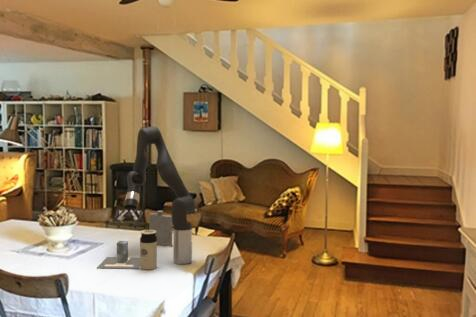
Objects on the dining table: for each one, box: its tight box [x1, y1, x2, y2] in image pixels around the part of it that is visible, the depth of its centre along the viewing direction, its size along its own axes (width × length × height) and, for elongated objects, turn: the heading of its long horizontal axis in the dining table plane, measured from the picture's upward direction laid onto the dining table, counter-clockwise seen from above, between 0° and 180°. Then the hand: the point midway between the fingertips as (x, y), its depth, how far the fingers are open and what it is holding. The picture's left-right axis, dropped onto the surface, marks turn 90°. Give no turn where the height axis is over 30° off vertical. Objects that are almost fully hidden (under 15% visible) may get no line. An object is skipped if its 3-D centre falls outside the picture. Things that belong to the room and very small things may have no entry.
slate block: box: [116, 240, 129, 263], centre depth 217 cm, size 4×4×10 cm
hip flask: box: [148, 210, 173, 247], centre depth 250 cm, size 16×4×20 cm, turn 61°
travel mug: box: [139, 229, 158, 271], centre depth 209 cm, size 8×8×18 cm
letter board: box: [96, 256, 140, 270], centre depth 216 cm, size 20×17×1 cm
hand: (126, 227), depth 224 cm, fingers open, 8 cm apart
